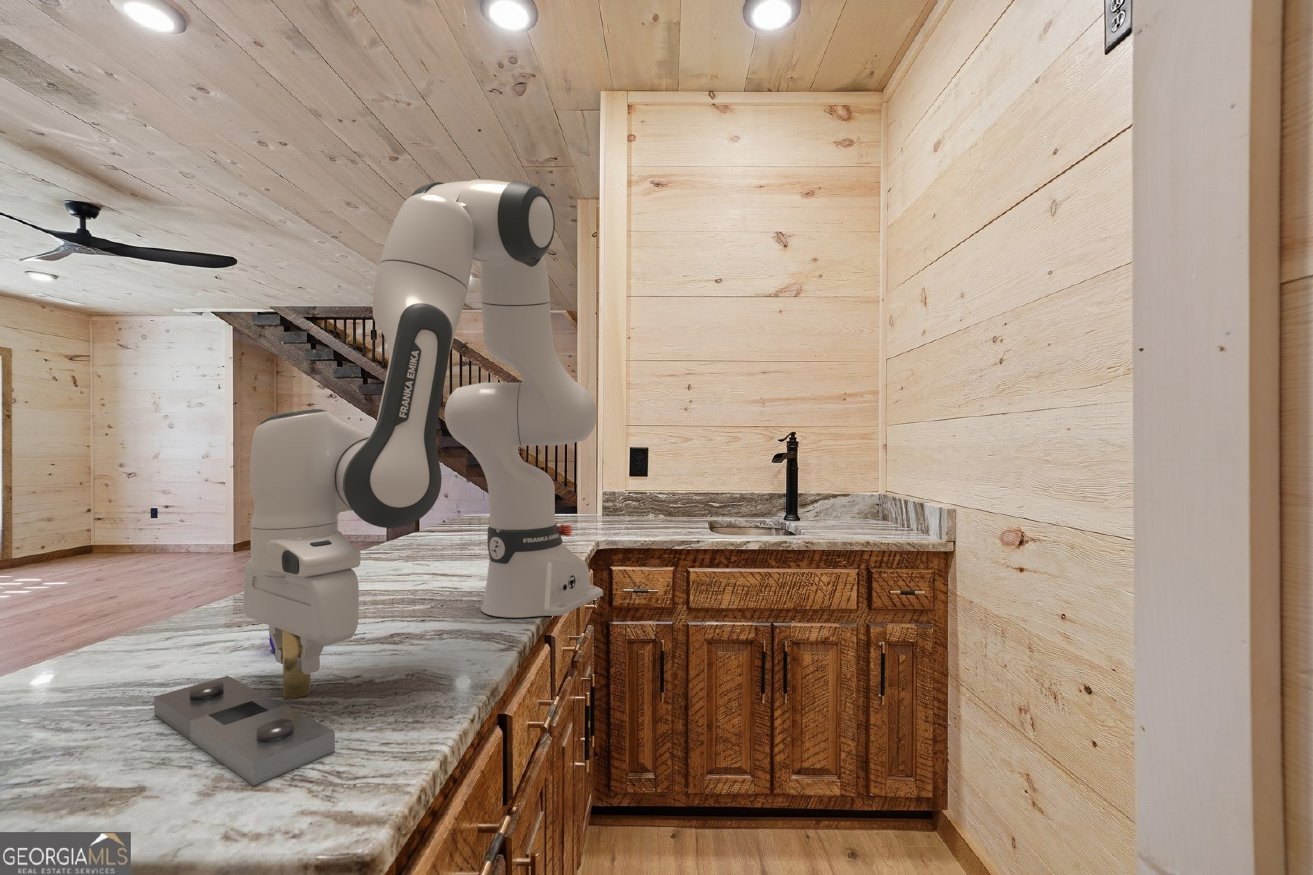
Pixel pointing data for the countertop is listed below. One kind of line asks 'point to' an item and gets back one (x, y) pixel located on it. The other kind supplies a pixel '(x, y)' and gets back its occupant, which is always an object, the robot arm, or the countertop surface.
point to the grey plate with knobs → (244, 728)
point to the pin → (293, 668)
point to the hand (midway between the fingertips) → (297, 666)
